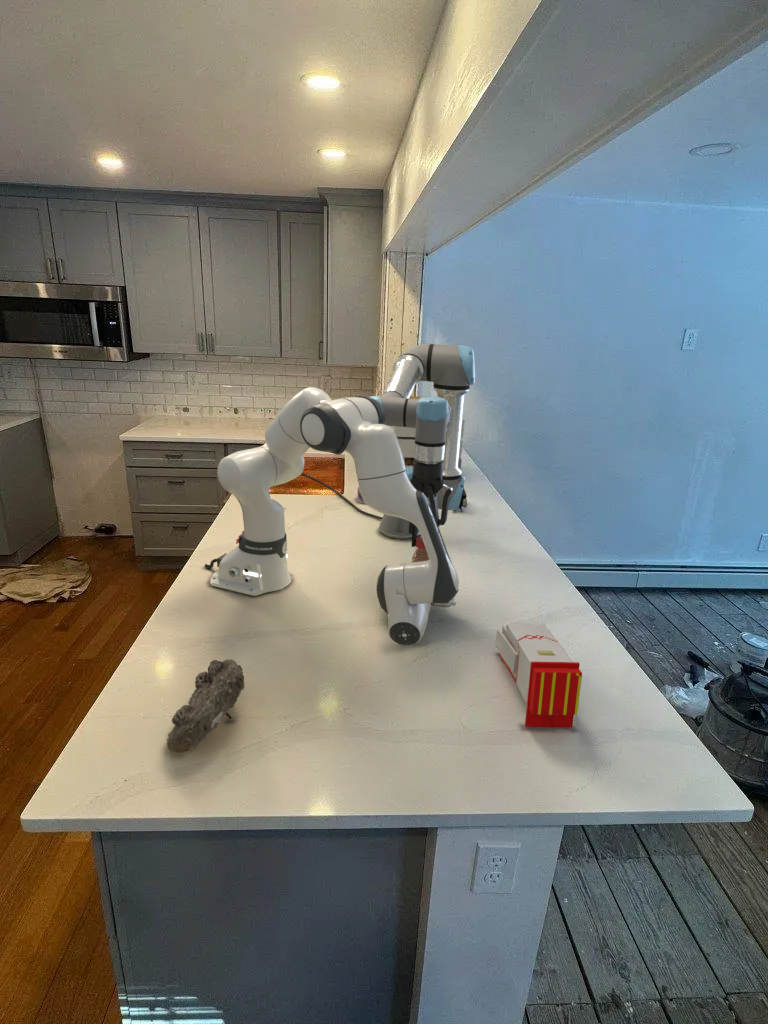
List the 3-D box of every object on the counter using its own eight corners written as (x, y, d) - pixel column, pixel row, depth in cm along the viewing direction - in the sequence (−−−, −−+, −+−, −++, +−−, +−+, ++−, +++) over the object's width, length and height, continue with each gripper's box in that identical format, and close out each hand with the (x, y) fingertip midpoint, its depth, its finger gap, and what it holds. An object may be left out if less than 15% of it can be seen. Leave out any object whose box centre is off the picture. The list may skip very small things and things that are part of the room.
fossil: (192, 660, 117) (244, 628, 112) (224, 691, 120) (276, 661, 115) (142, 746, 98) (202, 712, 93) (182, 779, 101) (242, 748, 96)
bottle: (422, 594, 158) (426, 536, 152) (431, 602, 154) (436, 543, 148) (405, 597, 156) (409, 538, 150) (414, 606, 152) (419, 545, 146)
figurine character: (467, 516, 223) (461, 500, 237) (469, 499, 220) (463, 483, 233) (450, 516, 223) (446, 499, 236) (452, 498, 220) (447, 483, 233)
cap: (412, 545, 149) (412, 538, 149) (421, 542, 152) (422, 535, 151) (423, 550, 147) (423, 543, 146) (432, 546, 150) (433, 539, 149)
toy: (542, 608, 134) (591, 669, 104) (537, 660, 136) (583, 734, 107) (491, 607, 133) (526, 668, 104) (487, 660, 136) (520, 733, 107)
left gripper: (456, 595, 138) (459, 571, 151) (374, 585, 141) (384, 562, 154) (454, 618, 140) (457, 592, 153) (373, 607, 143) (383, 583, 156)
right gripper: (464, 461, 143) (456, 546, 151) (400, 453, 147) (395, 536, 155) (459, 468, 136) (451, 557, 144) (391, 459, 141) (387, 546, 149)
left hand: (420, 577), depth 154 cm, fingers closed on bottle, 5 cm apart
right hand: (422, 546), depth 150 cm, fingers closed on cap, 4 cm apart
